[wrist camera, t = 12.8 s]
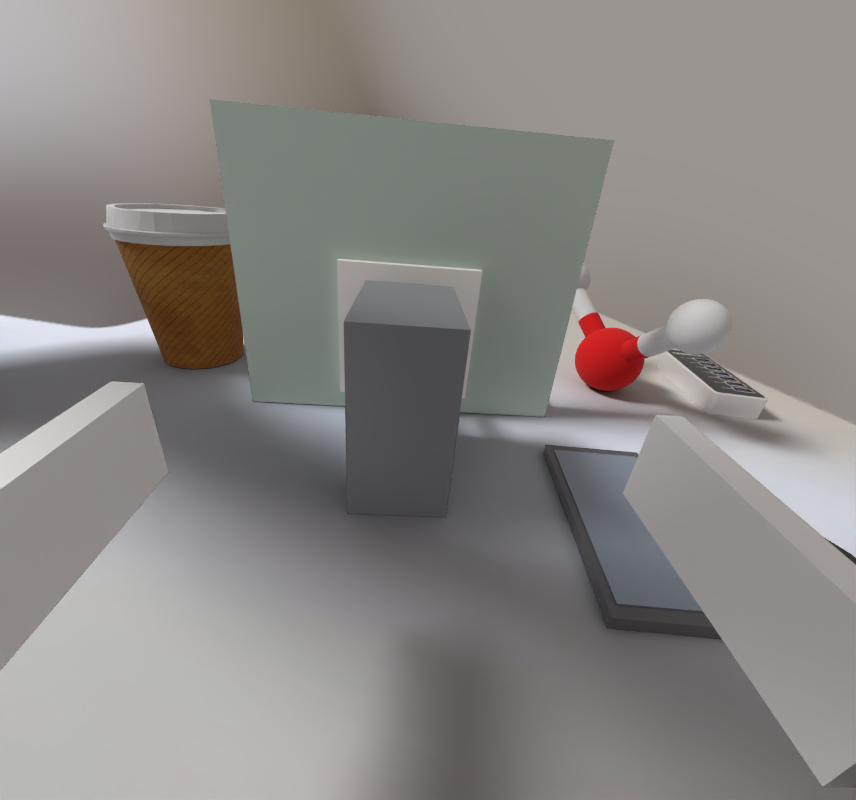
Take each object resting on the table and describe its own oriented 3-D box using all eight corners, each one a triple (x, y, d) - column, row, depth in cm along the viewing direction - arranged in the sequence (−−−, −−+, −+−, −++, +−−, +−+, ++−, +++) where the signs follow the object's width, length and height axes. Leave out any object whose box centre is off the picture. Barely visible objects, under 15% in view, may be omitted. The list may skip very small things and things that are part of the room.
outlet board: (248, 407, 28) (201, 95, 20) (277, 368, 34) (251, 117, 26) (548, 422, 30) (621, 138, 21) (525, 383, 36) (575, 149, 28)
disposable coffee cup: (283, 356, 37) (269, 215, 31) (175, 388, 30) (132, 214, 24) (226, 331, 42) (205, 204, 36) (121, 354, 35) (75, 200, 29)
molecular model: (524, 353, 43) (543, 256, 38) (567, 351, 45) (591, 258, 40) (652, 445, 28) (709, 305, 24) (708, 436, 30) (772, 305, 25)
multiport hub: (703, 416, 34) (715, 392, 33) (653, 367, 43) (661, 347, 42) (757, 424, 33) (771, 399, 32) (695, 373, 43) (704, 353, 42)
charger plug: (347, 514, 20) (343, 321, 15) (367, 415, 29) (368, 273, 24) (445, 517, 20) (470, 329, 16) (435, 418, 29) (450, 279, 25)
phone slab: (603, 636, 16) (612, 616, 15) (541, 459, 27) (545, 443, 26) (752, 650, 16) (767, 630, 15) (631, 467, 27) (637, 451, 26)
